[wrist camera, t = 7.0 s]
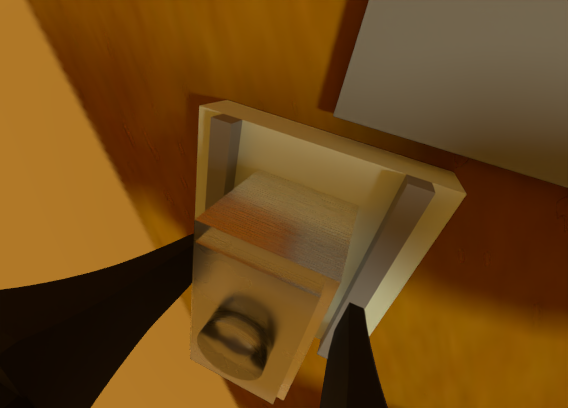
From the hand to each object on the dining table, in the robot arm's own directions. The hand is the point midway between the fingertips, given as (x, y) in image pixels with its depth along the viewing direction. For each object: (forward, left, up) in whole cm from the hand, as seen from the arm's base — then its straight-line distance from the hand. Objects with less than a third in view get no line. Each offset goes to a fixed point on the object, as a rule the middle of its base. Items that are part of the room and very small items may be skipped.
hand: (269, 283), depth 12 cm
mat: (-8, -12, -5) cm, 15 cm away
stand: (0, 0, -5) cm, 5 cm away
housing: (0, 0, -3) cm, 3 cm away
